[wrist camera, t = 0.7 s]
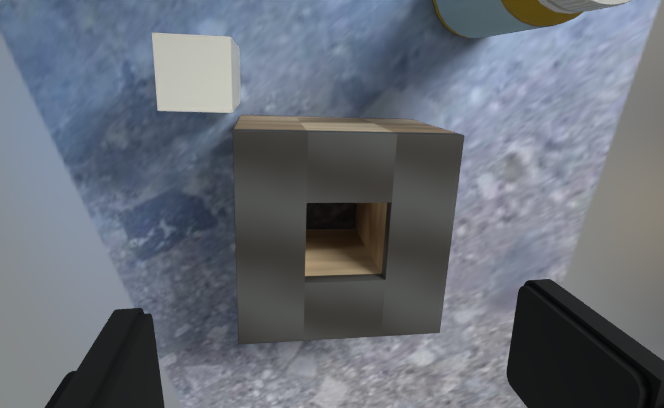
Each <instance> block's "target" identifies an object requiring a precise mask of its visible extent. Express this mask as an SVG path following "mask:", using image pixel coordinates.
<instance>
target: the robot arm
mask: <svg viewBox="0 0 664 408" xmlns="http://www.w3.org/2000/svg"><path fill="white" fill-rule="evenodd" d="M507 378H508V382H509V384H510V386H511V387H512V388H513V390H514V391H515V392H516V393H517V395H518V396H519V397H520V399H521V400H522V401H523V402H524V404H525V405H526V406H527V407H528V408H664V361H663V360H662V359H660V358H659V357H658V356H656V355H655V354H653V353H652V352H651V351H649V350H648V349H646V348H645V347H644V346H642V345H641V344H640V343H638V342H637V341H635V340H634V339H633V338H631V337H630V336H628V335H627V334H626V333H624V332H623V331H622V330H620V329H619V328H617V327H616V326H615V325H613V324H612V323H611V322H609V321H608V320H606V319H605V318H604V317H602V316H601V315H599V314H598V313H597V312H595V311H594V310H592V309H591V308H590V307H588V306H587V305H586V304H584V303H583V302H582V301H580V300H579V299H577V298H576V297H575V296H573V295H572V294H570V293H569V292H568V291H566V290H565V289H564V288H562V287H561V286H559V285H558V284H557V283H555V282H554V281H552V280H550V279H542V280H528V281H527V282H525V284H524V286H522V287H520V289H519V292H518V298H517V304H516V311H515V318H514V325H513V331H512V338H511V345H510V352H509V358H508V365H507ZM45 408H164V400H163V394H162V386H161V378H160V370H159V363H158V355H157V348H156V340H155V333H154V325H153V319H152V315H151V314H150V313H149V314H144V312H143V309H142V308H133V309H118V310H115V311H114V312H113V313H112V315H111V316H110V318H109V319H108V321H107V323H106V324H105V326H104V327H103V329H102V331H101V332H100V334H99V336H98V337H97V339H96V340H95V342H94V343H93V345H92V347H91V348H90V350H89V352H88V353H87V355H86V356H85V358H84V360H83V361H82V363H81V364H80V366H79V368H78V369H77V371H72V372H70V373H68V374H67V375H66V376H65V378H64V379H63V380H62V382H61V384H60V385H59V387H58V388H57V390H56V391H55V393H54V394H53V396H52V397H51V399H50V401H49V402H48V403H47V405H46V407H45Z"/></svg>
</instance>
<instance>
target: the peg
mask: <svg viewBox="0 0 664 408" xmlns="http://www.w3.org/2000/svg"><path fill="white" fill-rule="evenodd" d="M152 42H153V55H154V69H155V82H156V95H157V109H158V111H182V112H220V113H233V112H234V110H235V109H236V108H237V106H238V105H239V104H240V102H241V86H240V47H239V46H238V45H237V44H236V43H235V41H234V40H233V39H232V38H231V37H226V36H207V35H188V34H169V33H152Z"/></svg>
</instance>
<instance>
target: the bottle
mask: <svg viewBox="0 0 664 408" xmlns="http://www.w3.org/2000/svg"><path fill="white" fill-rule="evenodd" d="M629 1H631V0H433V3H434V7H435V10H436V13H437V16H438V17H439V19H440V20H441V22H442V23H443V25H444V26H445V27H446V28H447V29H448V30H450V31H451V32H452V33H454V34H456V35H458V36H461V37H465V38H482V37H488V36H495V35H501V34H507V33H513V32H519V31H525V30H531V29H537V28H543V27H549V26H554V25H557V24H561V23H564V22H567V21H569V20H571V19H574V18H575V17H577V16H579V15H580V14H581V13H583V12H585V11H592V10H597V9H602V8H608V7H613V6H618V5H621V4H625V3H626V2H629Z"/></svg>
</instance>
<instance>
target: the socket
mask: <svg viewBox="0 0 664 408" xmlns="http://www.w3.org/2000/svg"><path fill="white" fill-rule="evenodd" d="M463 142H464V135H461V134H458V133H455V132H452V131H448V130H445V129H442V128H439V127H435V126H432V125H429V124H425V123H422V122H419V121H416V120H412V119H383V118H343V117H303V116H263V115H241V116H240V118H239V120H238V122H237V124H236V126H235V128H234V129H233V159H234V196H235V234H236V271H237V308H238V344H253V343H271V342H288V341H306V340H323V339H341V338H358V337H376V336H394V335H411V334H429V333H440V326H441V318H442V310H443V302H444V294H445V286H446V278H447V270H448V262H449V254H450V246H451V238H452V230H453V222H454V214H455V206H456V198H457V190H458V182H459V174H460V166H461V158H462V150H463ZM307 203H357V204H356V221H355V229H321V230H306V207H307Z"/></svg>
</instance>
